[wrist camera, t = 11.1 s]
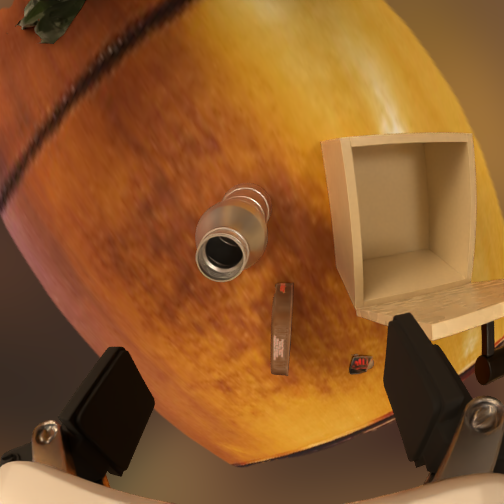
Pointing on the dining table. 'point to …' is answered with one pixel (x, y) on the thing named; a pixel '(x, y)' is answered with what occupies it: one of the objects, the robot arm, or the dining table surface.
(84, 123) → the dining table surface
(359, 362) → the matchbox
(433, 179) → the bin
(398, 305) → the bin lid
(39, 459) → the robot arm
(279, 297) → the tin
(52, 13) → the rose bouquet
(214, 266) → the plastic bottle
